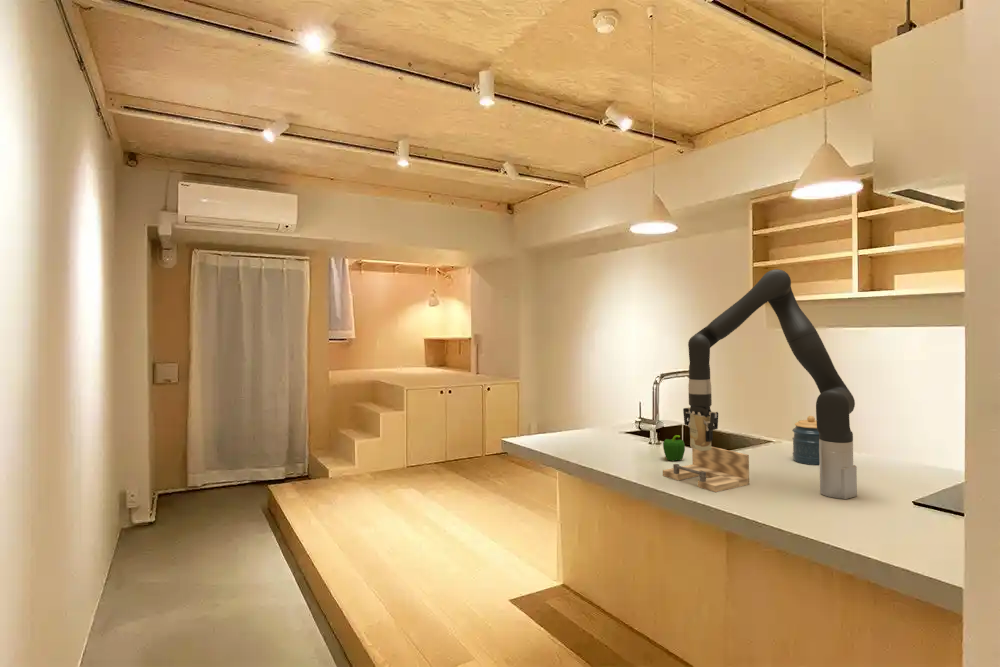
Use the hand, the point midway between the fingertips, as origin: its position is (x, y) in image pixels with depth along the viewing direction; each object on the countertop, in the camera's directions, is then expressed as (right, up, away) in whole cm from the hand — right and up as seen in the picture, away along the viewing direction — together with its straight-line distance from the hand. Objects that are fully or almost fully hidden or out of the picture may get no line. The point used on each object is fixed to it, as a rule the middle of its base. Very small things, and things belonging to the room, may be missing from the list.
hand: (700, 439), depth 202 cm
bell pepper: (0, -14, +30) cm, 33 cm away
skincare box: (0, -3, 0) cm, 3 cm away
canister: (+50, -13, +22) cm, 56 cm away
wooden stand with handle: (+2, -14, +1) cm, 14 cm away
